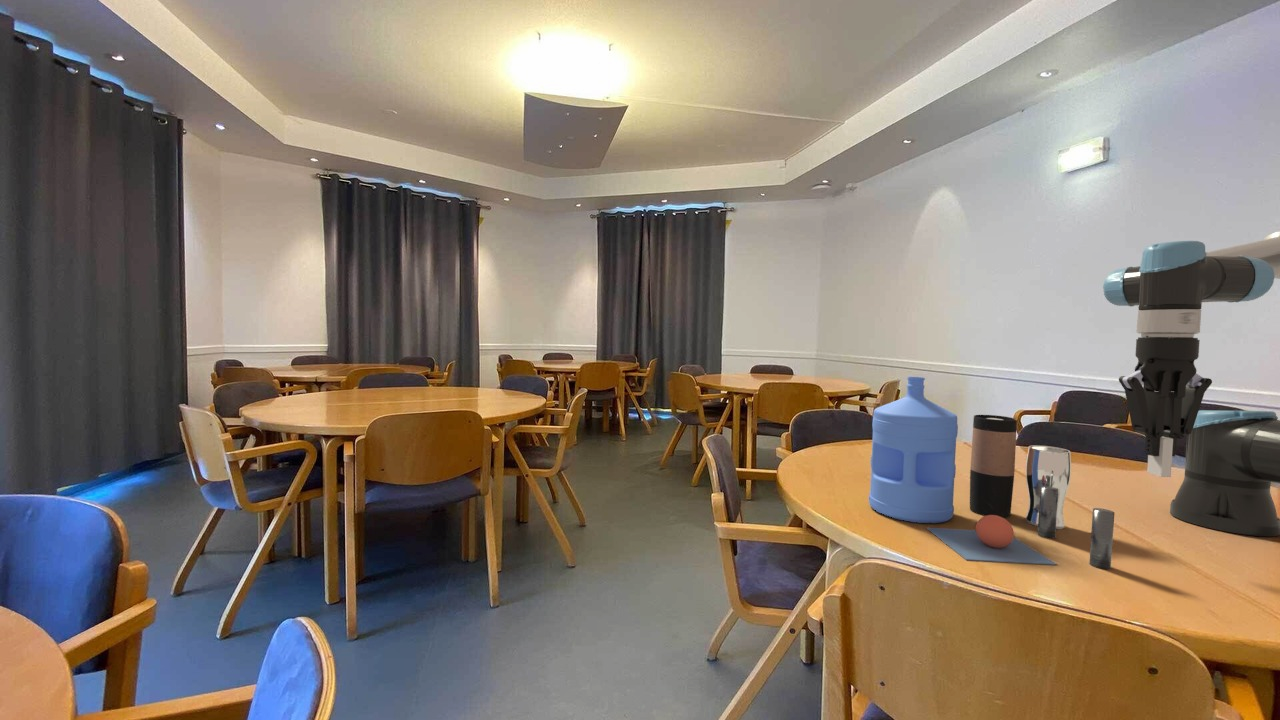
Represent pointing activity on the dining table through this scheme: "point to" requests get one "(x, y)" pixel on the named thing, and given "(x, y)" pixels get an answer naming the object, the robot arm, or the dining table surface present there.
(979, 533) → the ball
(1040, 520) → the post
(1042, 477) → the beer glass
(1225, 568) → the dining table surface
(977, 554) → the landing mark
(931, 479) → the water jug
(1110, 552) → the post
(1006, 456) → the travel mug
